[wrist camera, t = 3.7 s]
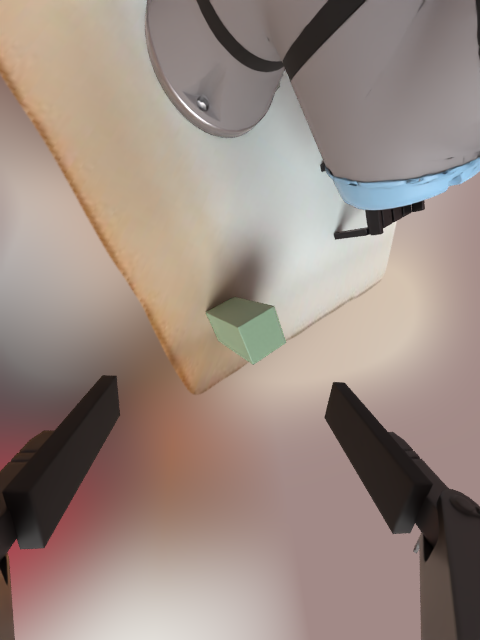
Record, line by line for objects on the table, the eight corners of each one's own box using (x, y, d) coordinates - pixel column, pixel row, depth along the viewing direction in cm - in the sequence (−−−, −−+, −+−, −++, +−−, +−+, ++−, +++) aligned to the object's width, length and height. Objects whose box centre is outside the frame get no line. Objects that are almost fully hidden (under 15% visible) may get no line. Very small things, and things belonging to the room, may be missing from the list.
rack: (318, 165, 38) (369, 140, 30) (365, 148, 41) (420, 122, 34) (333, 240, 42) (381, 234, 35) (374, 218, 46) (424, 209, 39)
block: (205, 312, 33) (237, 327, 25) (234, 296, 35) (274, 305, 26) (218, 341, 35) (253, 365, 27) (245, 325, 37) (286, 342, 28)
